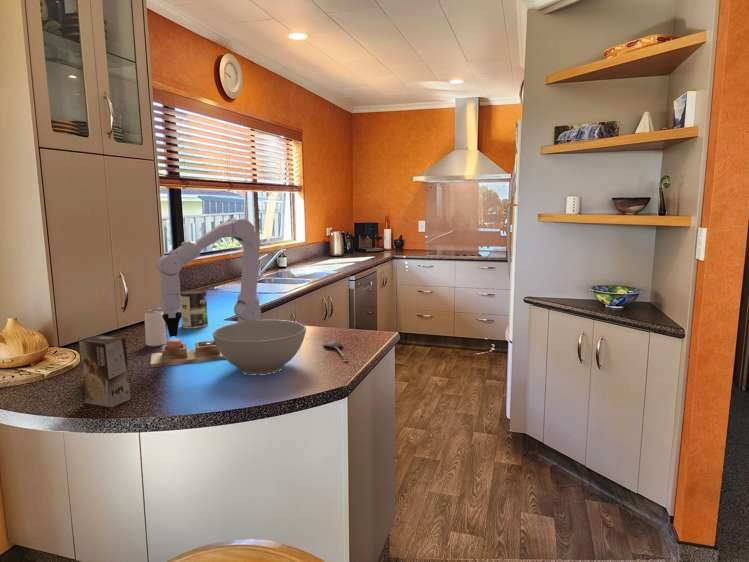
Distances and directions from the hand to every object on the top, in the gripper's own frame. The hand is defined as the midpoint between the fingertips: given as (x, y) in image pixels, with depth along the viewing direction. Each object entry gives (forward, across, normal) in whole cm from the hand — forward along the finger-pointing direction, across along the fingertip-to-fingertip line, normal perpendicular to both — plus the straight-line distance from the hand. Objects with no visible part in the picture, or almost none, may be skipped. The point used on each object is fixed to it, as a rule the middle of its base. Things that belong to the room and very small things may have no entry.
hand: (173, 336), depth 164 cm
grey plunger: (+6, 0, +10) cm, 12 cm away
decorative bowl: (+8, +21, +24) cm, 33 cm away
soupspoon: (+8, +14, +50) cm, 52 cm away
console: (+8, 0, +5) cm, 9 cm away
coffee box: (+8, +32, -16) cm, 37 cm away
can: (+8, -22, -6) cm, 24 cm away
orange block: (+5, 0, 0) cm, 5 cm away
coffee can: (+8, -47, +8) cm, 48 cm away
